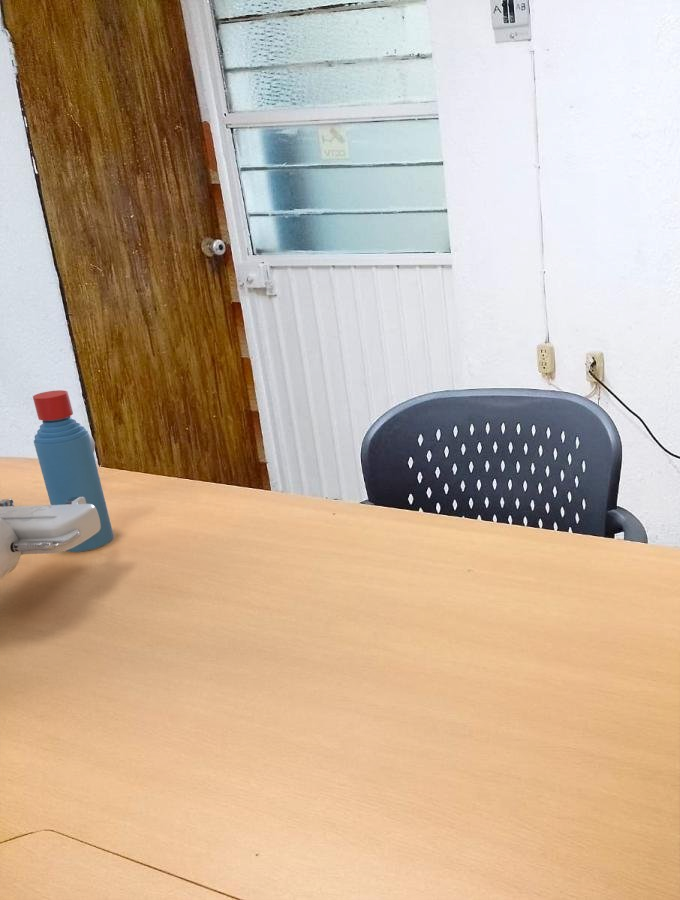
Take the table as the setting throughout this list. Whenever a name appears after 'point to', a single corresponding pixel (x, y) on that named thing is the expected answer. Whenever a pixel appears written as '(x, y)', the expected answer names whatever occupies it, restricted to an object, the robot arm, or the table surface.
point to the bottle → (72, 472)
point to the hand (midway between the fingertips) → (44, 503)
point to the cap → (52, 405)
